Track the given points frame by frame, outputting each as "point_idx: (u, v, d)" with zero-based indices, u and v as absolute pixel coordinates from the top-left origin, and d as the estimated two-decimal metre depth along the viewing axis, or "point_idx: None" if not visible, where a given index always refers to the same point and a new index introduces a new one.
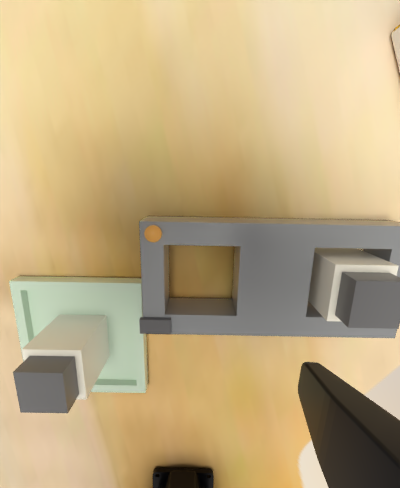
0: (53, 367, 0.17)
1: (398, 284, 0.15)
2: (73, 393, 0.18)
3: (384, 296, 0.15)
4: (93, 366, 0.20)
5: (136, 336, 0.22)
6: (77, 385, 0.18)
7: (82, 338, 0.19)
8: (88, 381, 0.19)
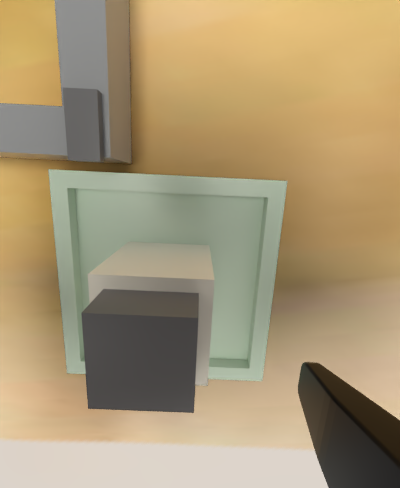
0: None
1: None
2: (178, 301, 0.08)
3: None
4: (170, 263, 0.10)
5: (157, 187, 0.12)
6: (173, 293, 0.08)
7: None
8: (180, 273, 0.09)
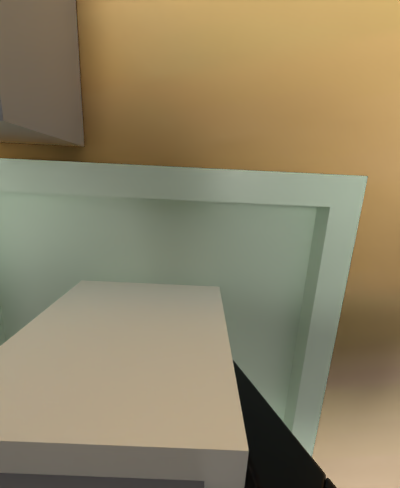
0: None
1: None
2: None
3: None
4: (139, 358, 0.04)
5: (124, 187, 0.06)
6: None
7: None
8: (156, 410, 0.03)
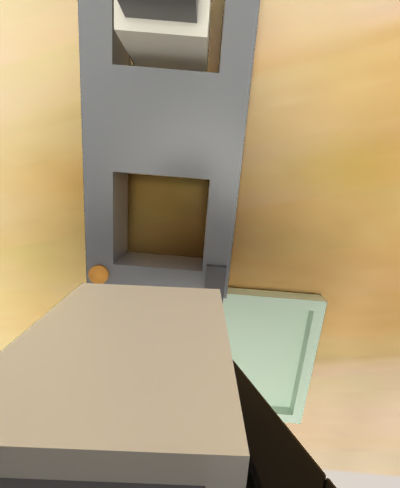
0: None
1: None
2: None
3: None
4: (141, 362, 0.04)
5: (243, 302, 0.18)
6: None
7: None
8: (157, 415, 0.03)
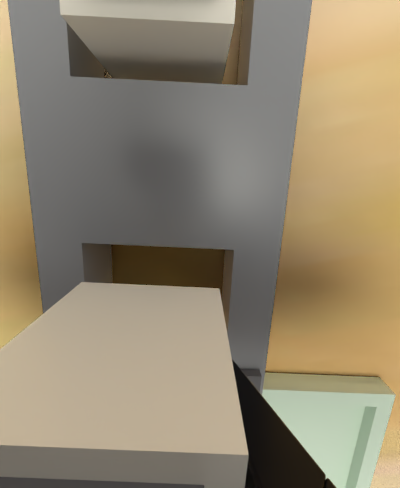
0: None
1: None
2: None
3: None
4: (140, 361, 0.04)
5: (278, 399, 0.13)
6: None
7: None
8: (156, 414, 0.03)
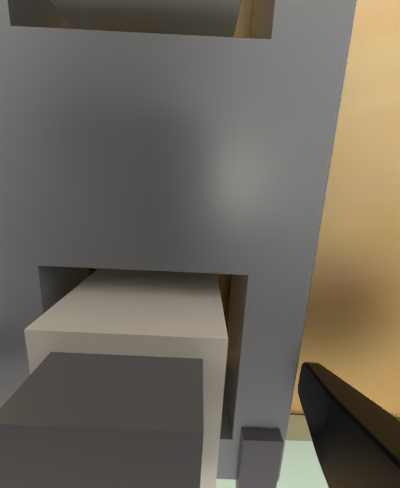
0: None
1: None
2: (169, 381, 0.05)
3: None
4: (160, 302, 0.07)
5: (297, 451, 0.10)
6: (162, 361, 0.05)
7: None
8: (174, 323, 0.06)
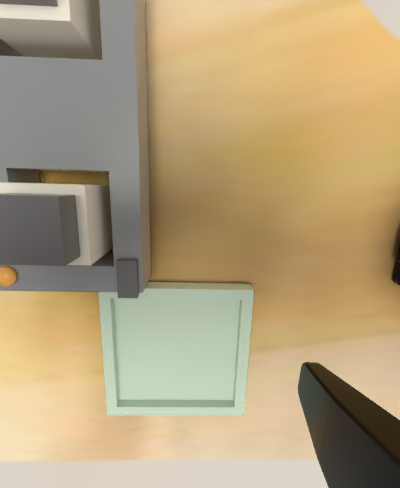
0: None
1: None
2: (55, 195, 0.12)
3: None
4: None
5: (169, 296, 0.18)
6: (56, 194, 0.12)
7: None
8: None
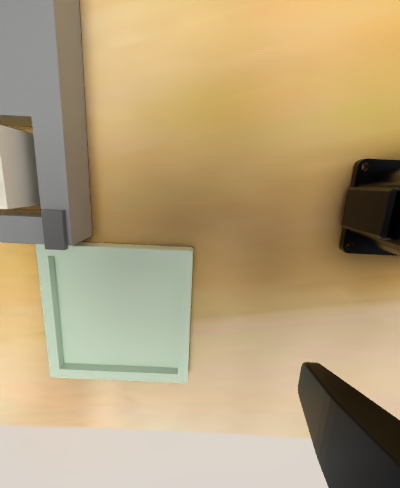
0: None
1: None
2: None
3: None
4: None
5: (107, 255, 0.17)
6: None
7: None
8: None
